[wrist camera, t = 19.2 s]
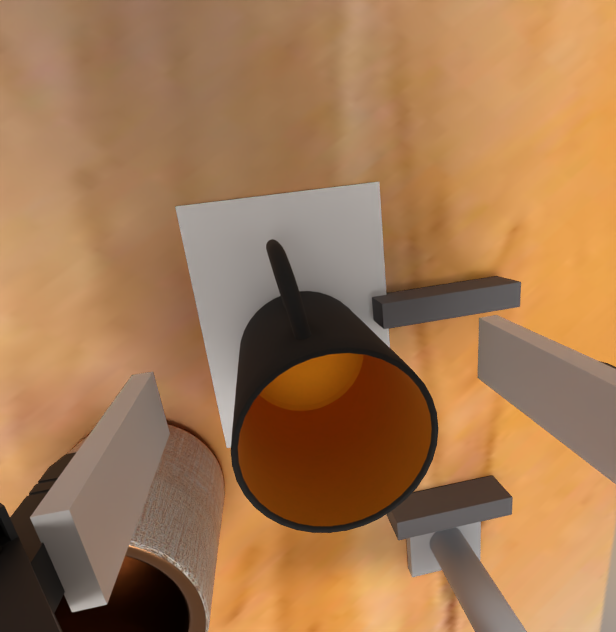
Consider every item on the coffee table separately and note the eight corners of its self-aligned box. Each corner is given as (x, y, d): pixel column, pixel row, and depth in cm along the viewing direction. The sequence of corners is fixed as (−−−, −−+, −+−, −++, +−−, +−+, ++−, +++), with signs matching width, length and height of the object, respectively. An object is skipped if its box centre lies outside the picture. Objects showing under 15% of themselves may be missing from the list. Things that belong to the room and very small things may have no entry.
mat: (176, 206, 21) (175, 206, 21) (377, 182, 22) (379, 181, 22) (227, 444, 26) (226, 448, 25) (392, 413, 27) (394, 416, 26)
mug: (333, 215, 22) (399, 215, 12) (376, 386, 26) (454, 494, 16) (199, 254, 22) (155, 289, 12) (262, 424, 25) (268, 560, 15)
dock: (369, 295, 24) (453, 352, 14) (496, 276, 25) (659, 316, 15) (391, 572, 31) (458, 746, 21) (490, 548, 32) (602, 703, 22)
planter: (66, 404, 23) (-54, 526, 14) (238, 426, 25) (230, 544, 16) (54, 543, 26) (-55, 724, 17) (211, 552, 28) (192, 717, 19)
